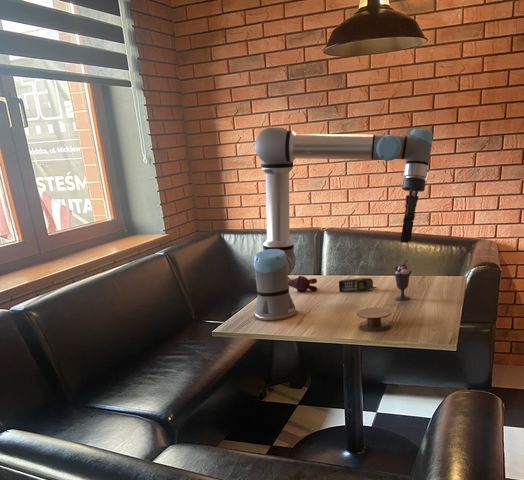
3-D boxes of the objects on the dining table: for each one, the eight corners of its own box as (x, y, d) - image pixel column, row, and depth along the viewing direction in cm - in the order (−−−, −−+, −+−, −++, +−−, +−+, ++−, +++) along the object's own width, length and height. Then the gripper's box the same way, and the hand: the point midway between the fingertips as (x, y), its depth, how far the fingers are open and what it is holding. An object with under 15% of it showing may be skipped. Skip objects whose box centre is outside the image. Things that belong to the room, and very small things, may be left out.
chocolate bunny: (280, 279, 224) (314, 282, 219) (285, 271, 230) (319, 273, 225) (281, 293, 228) (315, 296, 223) (286, 285, 234) (319, 287, 229)
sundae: (412, 300, 198) (412, 260, 193) (393, 301, 199) (393, 261, 194) (411, 296, 204) (411, 257, 199) (393, 296, 205) (392, 258, 200)
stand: (351, 325, 178) (350, 311, 177) (380, 319, 181) (379, 305, 180) (367, 334, 169) (367, 319, 167) (398, 328, 172) (398, 313, 170)
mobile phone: (338, 281, 218) (376, 277, 215) (338, 279, 221) (375, 276, 217) (339, 292, 219) (376, 289, 216) (339, 291, 222) (376, 287, 219)
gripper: (429, 173, 169) (419, 241, 173) (423, 184, 193) (413, 244, 197) (405, 171, 171) (395, 239, 175) (401, 182, 195) (393, 241, 199)
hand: (405, 241), depth 186 cm, fingers open, 13 cm apart
